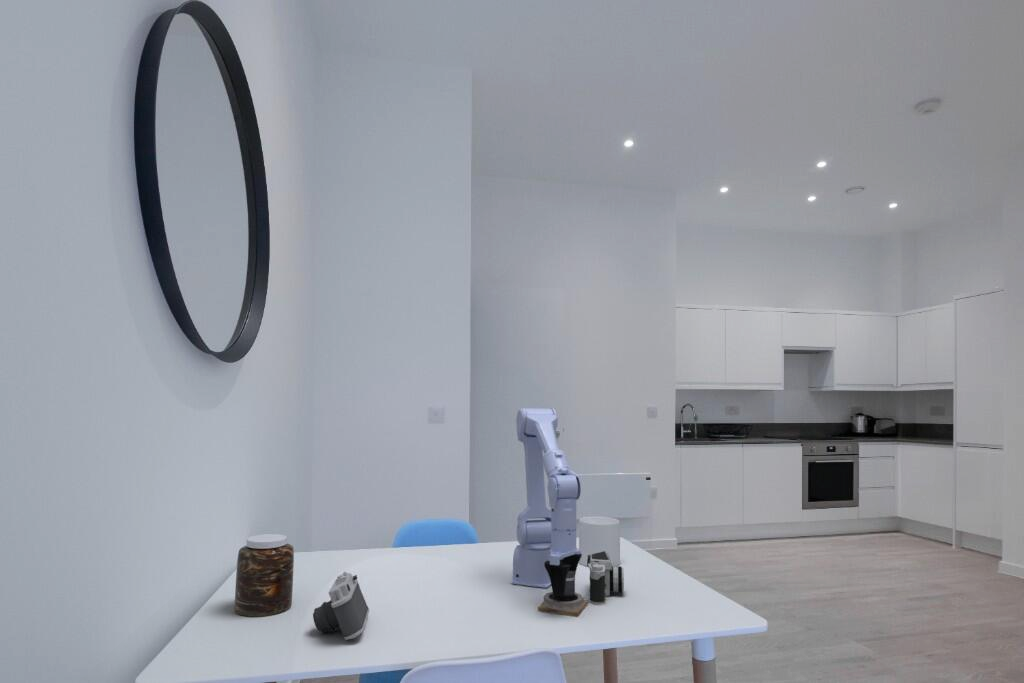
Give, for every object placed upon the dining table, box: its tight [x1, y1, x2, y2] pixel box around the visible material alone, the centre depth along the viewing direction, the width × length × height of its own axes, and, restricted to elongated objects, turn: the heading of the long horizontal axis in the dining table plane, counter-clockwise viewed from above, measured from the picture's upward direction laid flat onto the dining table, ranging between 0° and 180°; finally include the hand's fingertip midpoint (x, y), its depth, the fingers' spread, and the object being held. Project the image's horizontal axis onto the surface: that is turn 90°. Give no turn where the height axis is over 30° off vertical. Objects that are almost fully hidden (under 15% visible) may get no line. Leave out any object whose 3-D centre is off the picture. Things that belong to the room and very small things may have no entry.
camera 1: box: [312, 571, 370, 641], centre depth 122 cm, size 9×16×10 cm, turn 11°
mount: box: [537, 591, 589, 617], centre depth 136 cm, size 9×9×2 cm
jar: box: [234, 533, 295, 618], centre depth 134 cm, size 12×12×15 cm
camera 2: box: [586, 551, 625, 606], centre depth 146 cm, size 16×9×10 cm, turn 171°
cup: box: [578, 516, 621, 568], centre depth 176 cm, size 12×12×12 cm
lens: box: [554, 569, 576, 602], centre depth 137 cm, size 5×5×7 cm
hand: (563, 590), depth 137 cm, fingers open, 7 cm apart
